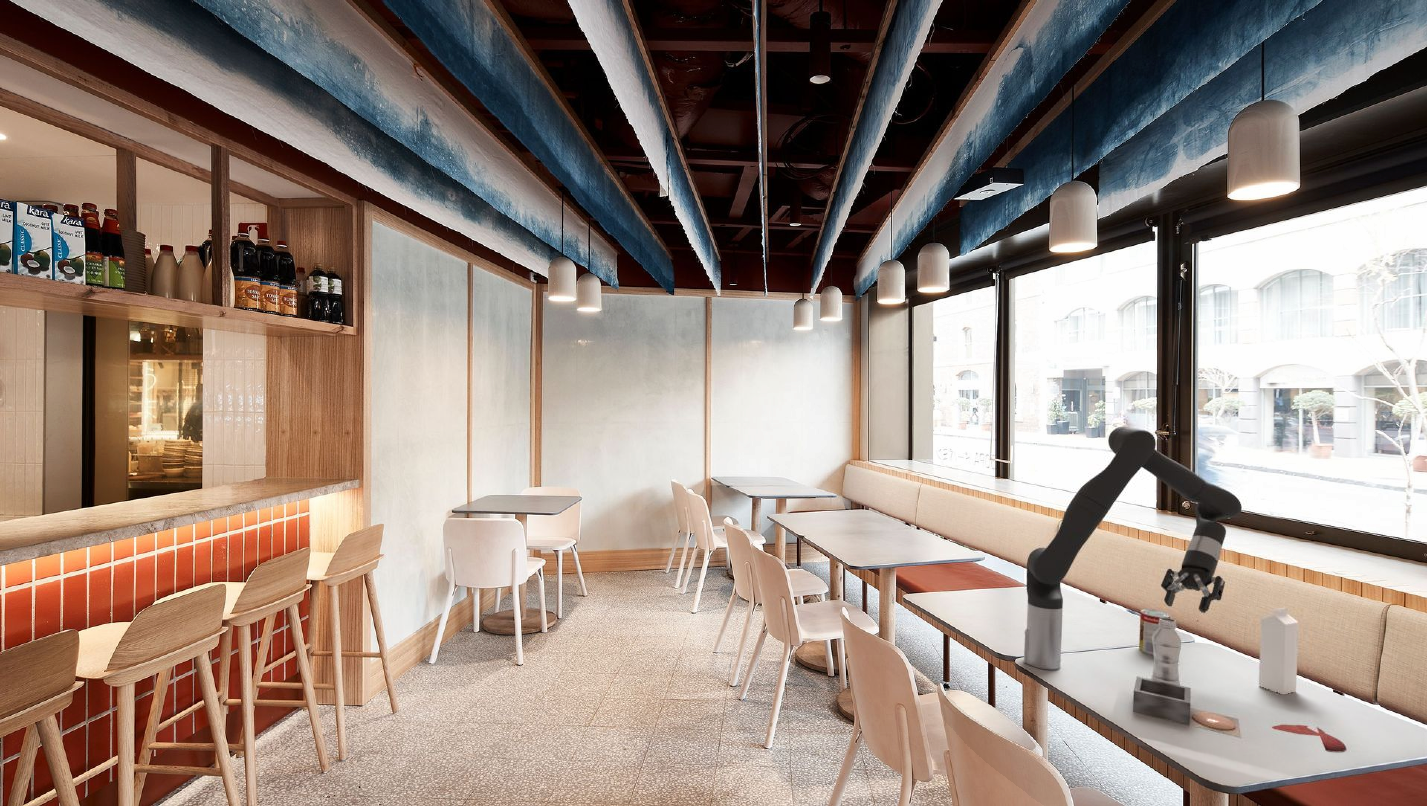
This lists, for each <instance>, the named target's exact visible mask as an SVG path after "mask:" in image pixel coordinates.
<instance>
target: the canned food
mask: <svg viewBox="0 0 1427 806" xmlns="http://www.w3.org/2000/svg"><path fill="white" fill-rule="evenodd" d="M1139 615H1140V617H1139V642H1138V643H1139V644H1138V649H1139V651H1140V652H1142V653H1145V654H1148V655H1152V656H1154V651H1153V643H1152V642H1153V641H1152V636H1153V634H1154V633H1155V631H1156V630H1157V629H1159V628H1160V626H1159V618H1170V619H1171V614H1170V613H1167V612H1164V611H1162V610H1157V609H1156V610H1155V609H1149V608H1147V609H1140V613H1139Z"/></svg>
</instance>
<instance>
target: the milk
mask: <svg viewBox="0 0 1427 806" xmlns="http://www.w3.org/2000/svg"><path fill="white" fill-rule="evenodd" d="M1287 611H1288V608H1287V607H1282V608H1274V609H1273V613H1272V614H1271V615H1267V616H1264V617H1261V619H1260V638H1259V639H1260V641H1259V643H1260V646H1259V666H1258V667H1259V668H1258V670H1259V671H1258V672H1259V673H1258V686H1259V685H1260V686H1261V687H1260V688H1262V687H1264V688H1263V689H1265V688H1266V689H1265V690H1268V689H1270V690H1269V691H1272V692H1275V693H1276V692H1278V693H1277V694H1279V693H1280V695H1284V696H1285V695H1288V693H1289V694H1292V693H1291V692H1293V693H1296V692H1297V676H1298V647H1299V645H1298V644H1299V627H1300V625H1299V621H1298V620H1297V619H1295V618H1294V617H1292V616H1291V615H1290V614H1288V612H1287Z"/></svg>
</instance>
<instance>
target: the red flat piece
mask: <svg viewBox="0 0 1427 806" xmlns="http://www.w3.org/2000/svg"><path fill="white" fill-rule="evenodd" d="M1271 728H1272V729H1273V730H1277V731H1280V732H1285V733H1291V734H1295V735H1304V736H1316V737H1320V740H1321V741H1322V745H1323V748H1324V750H1325V751H1326V750H1330V751H1329V752H1331V751H1342V752H1344V751H1343V750H1345V751H1346V750H1347V747H1346V745H1345V744H1344V742H1342V741H1341V740H1340V739H1338V738H1336V737H1334V736H1332V735H1330V734H1328V733H1326V732H1325V731H1324V730H1322V728H1319V727H1317V726H1316V729H1317V731H1315V730H1313V729H1311V728H1309V725H1303V724H1278V725H1273V726H1272V727H1271Z"/></svg>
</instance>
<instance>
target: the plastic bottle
mask: <svg viewBox="0 0 1427 806" xmlns="http://www.w3.org/2000/svg"><path fill="white" fill-rule="evenodd" d="M1159 626H1160V628H1159V629H1157V630H1156V631H1155V633H1154V634H1153V636H1152V641H1153V642H1152V643H1153V651H1154V655H1153V668H1152V674H1151V678H1150V679H1152V680H1156V681H1161V682H1166V683H1170V684H1175V685H1180V686H1181V682H1180V675H1179V662H1180V654H1181V650H1182V649H1181V648H1182V644H1183V643H1182V640H1181V639H1182V638H1181V637H1180V635H1179V634H1178V632H1177V631H1176V629H1177V620H1175V619H1173V618H1171V617H1170V618H1159Z"/></svg>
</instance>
